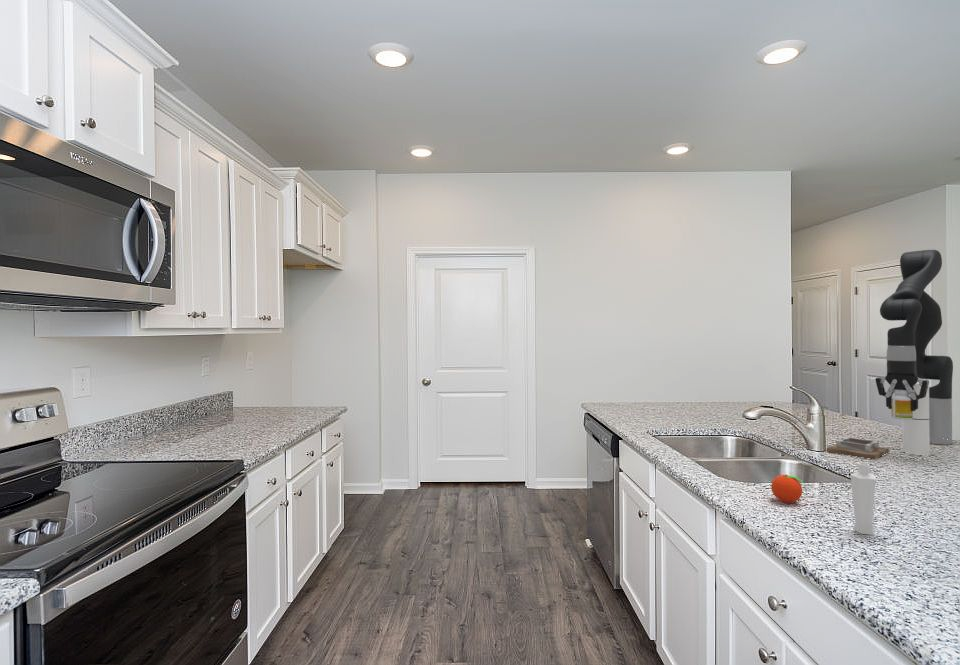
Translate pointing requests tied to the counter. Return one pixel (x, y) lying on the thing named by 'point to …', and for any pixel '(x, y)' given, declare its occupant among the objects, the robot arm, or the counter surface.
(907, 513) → the counter surface
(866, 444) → the socket board
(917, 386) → the cylindrical container
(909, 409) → the supplement bottle
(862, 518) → the perfume bottle
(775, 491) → the clementine
